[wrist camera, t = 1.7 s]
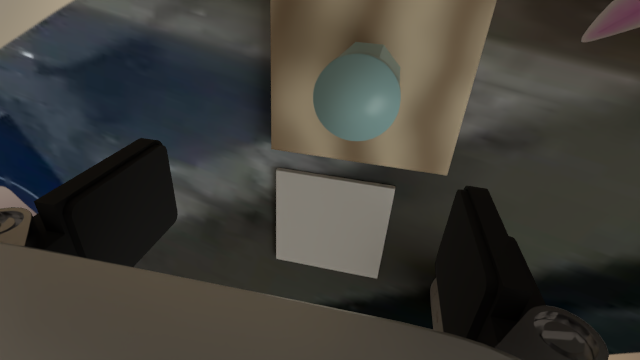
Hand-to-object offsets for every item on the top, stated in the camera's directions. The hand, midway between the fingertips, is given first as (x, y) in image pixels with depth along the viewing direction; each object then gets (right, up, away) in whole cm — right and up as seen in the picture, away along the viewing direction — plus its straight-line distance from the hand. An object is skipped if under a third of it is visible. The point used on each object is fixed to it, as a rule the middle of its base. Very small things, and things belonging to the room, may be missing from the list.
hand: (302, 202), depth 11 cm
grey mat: (+2, -4, +27) cm, 27 cm away
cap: (+4, +8, +15) cm, 17 cm away
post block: (+5, +10, +18) cm, 21 cm away
